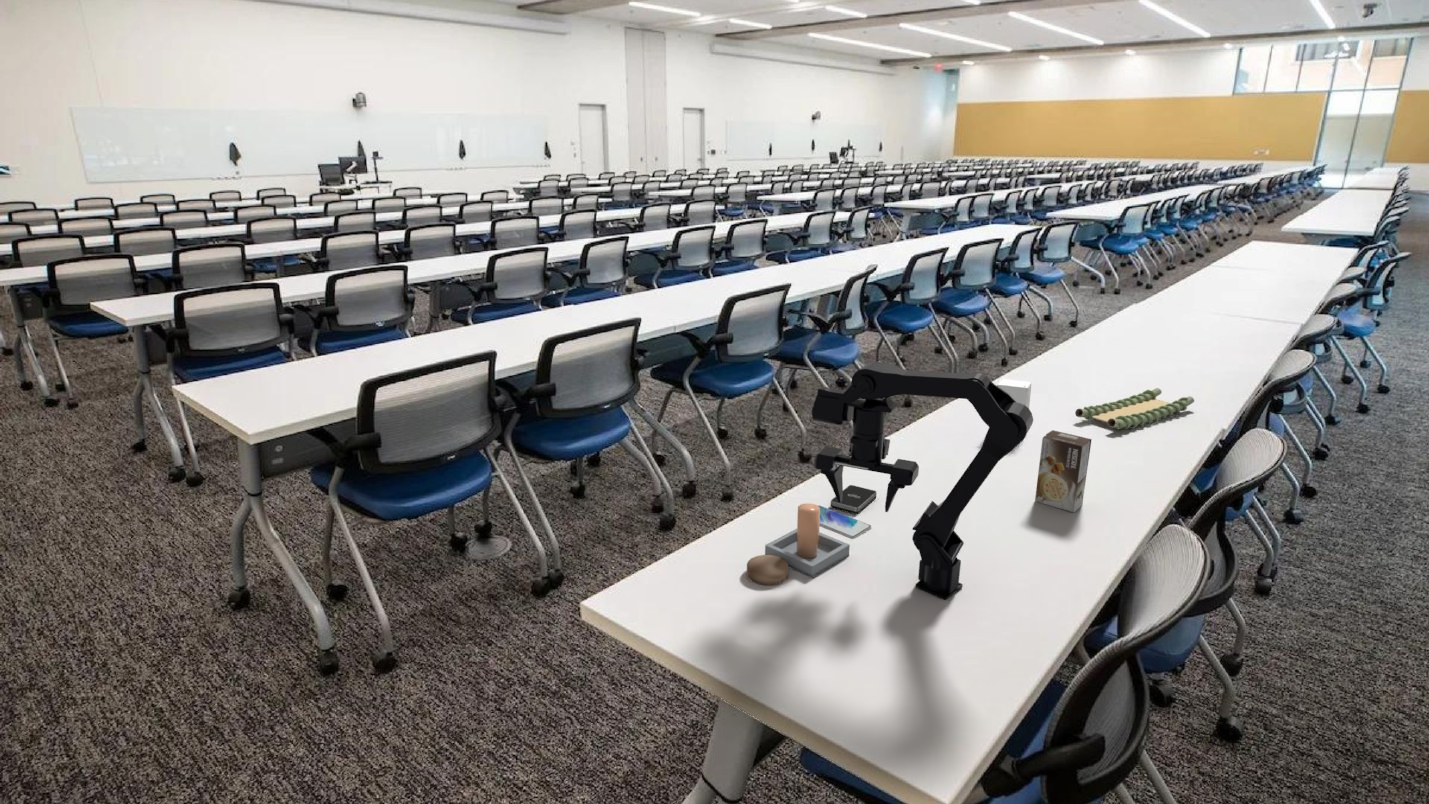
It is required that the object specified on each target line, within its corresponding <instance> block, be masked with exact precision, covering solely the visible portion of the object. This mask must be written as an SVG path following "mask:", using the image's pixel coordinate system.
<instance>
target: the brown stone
mask: <svg viewBox="0 0 1429 804" xmlns="http://www.w3.org/2000/svg"><path fill="white" fill-rule="evenodd" d="M746 577H747V579H748V580H750V581H751V582H752V583H754V584H758V585H761V586H776V585H780V584H782V583H784V582H785V581H786V580H788V577H789V567H788V563H787V562H786V561H785V560H784V559H782V558H780V557H778V556H773V555H765V554H762V555H761V554H760V555H756V556H753V557H751V558H750V559H749V560H748V561H747V562H746Z"/></svg>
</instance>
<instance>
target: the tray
mask: <svg viewBox="0 0 1429 804" xmlns="http://www.w3.org/2000/svg"><path fill="white" fill-rule="evenodd" d="M764 546H765V547H764V548H765V549H764V555H773V556H778V557H780V558H782V559H784V560H785V561H786V562H787V563H788V568H790V569H792V570H794V571H796V572H799V573H800V574H803V575H805V576H806V577H809V578H811V579H813V578H815V577H817V576H818V575H820V574H821V573H823V572H824V571H826V570H828V569H830V568H832V567H834V565H836V564H838V563H839V562H841V561H842V560H844V559H847V558H848V557H850V546H851V544H849V543H846V542H844V541H842V540H840V539H837V538H834V537H832V536H830V535H827V534H825V533H823V532H820V531H819V552H818V556H817V557H815V558H811V559H806V558H801V557H799V556H798V555H797V528H795V529H794V530H791V531H789V532H787V533H785V534H784V535H781V536H780V537H778V538H776V539H774V540H772V541H770V542H768V543H766V544H765V545H764Z"/></svg>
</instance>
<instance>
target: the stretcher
mask: <svg viewBox="0 0 1429 804" xmlns="http://www.w3.org/2000/svg"><path fill="white" fill-rule="evenodd" d="M1160 395H1162V390H1161V388H1159V387H1156V388H1154V389H1153V390H1150V389H1146V390H1143V392H1142V393H1141V392H1140V393H1137V394H1133V395H1130V396H1129V397H1126V398H1123V399H1118V400H1116V401H1110V402H1109V403H1106V402H1105V403H1102V404H1097V405H1095V406H1094V405H1089V406H1084V407H1083V408H1077V409H1075V416H1076V417H1077V418H1084V419H1085V420H1091V419H1093V420H1097V421H1100V422H1104V423H1106V424H1107V426H1108V427H1109V428H1115V429H1116V430H1121V429H1123V430H1126V429H1127V430H1128V429H1129V428H1130V429H1135V428H1137V427H1142V426H1143V425H1145V424H1147V425H1150V424H1151V423H1152V422H1154V423H1155V422H1156V423H1157V422H1158V421H1159V420H1165V419H1166V418H1170V417H1172V416H1173V415H1174V414H1175V415H1176V414H1180V413H1181V412H1184V411H1186V410H1187V409H1188V407H1189V406H1190V405H1192V404H1193V403H1195V399H1194V397H1193V396H1186V397H1185V396H1184V397H1183V396H1182V397H1180V398H1178V400H1174V401H1171V402H1169V401H1164V400H1161V399H1158V398H1157V397H1159V396H1160Z"/></svg>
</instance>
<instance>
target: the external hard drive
mask: <svg viewBox="0 0 1429 804" xmlns="http://www.w3.org/2000/svg"><path fill="white" fill-rule="evenodd" d="M876 498H877V490H874V489H869V488H865V487H861V486H858V485H853V484H849V485H848V486H847V487H845V488H844V489H843V496H842V502H841V503H839V502H838V500H837V498H836V495H835V496H834V497H833V498H832V499H831V500H830V508H831V507H832V508H831V509H834V508H835V509H836V510H838V511H842V510H843V512H845V511H846V512H845V513H848V514H853V513H854V514H853V515H858V514H859V513H861V512H862V511H863V510H864V509H865V508H867V506H868V504H869V505H870V504H871V503H872V502H873V501H874V500H875V499H876ZM835 509H834V510H835Z"/></svg>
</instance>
